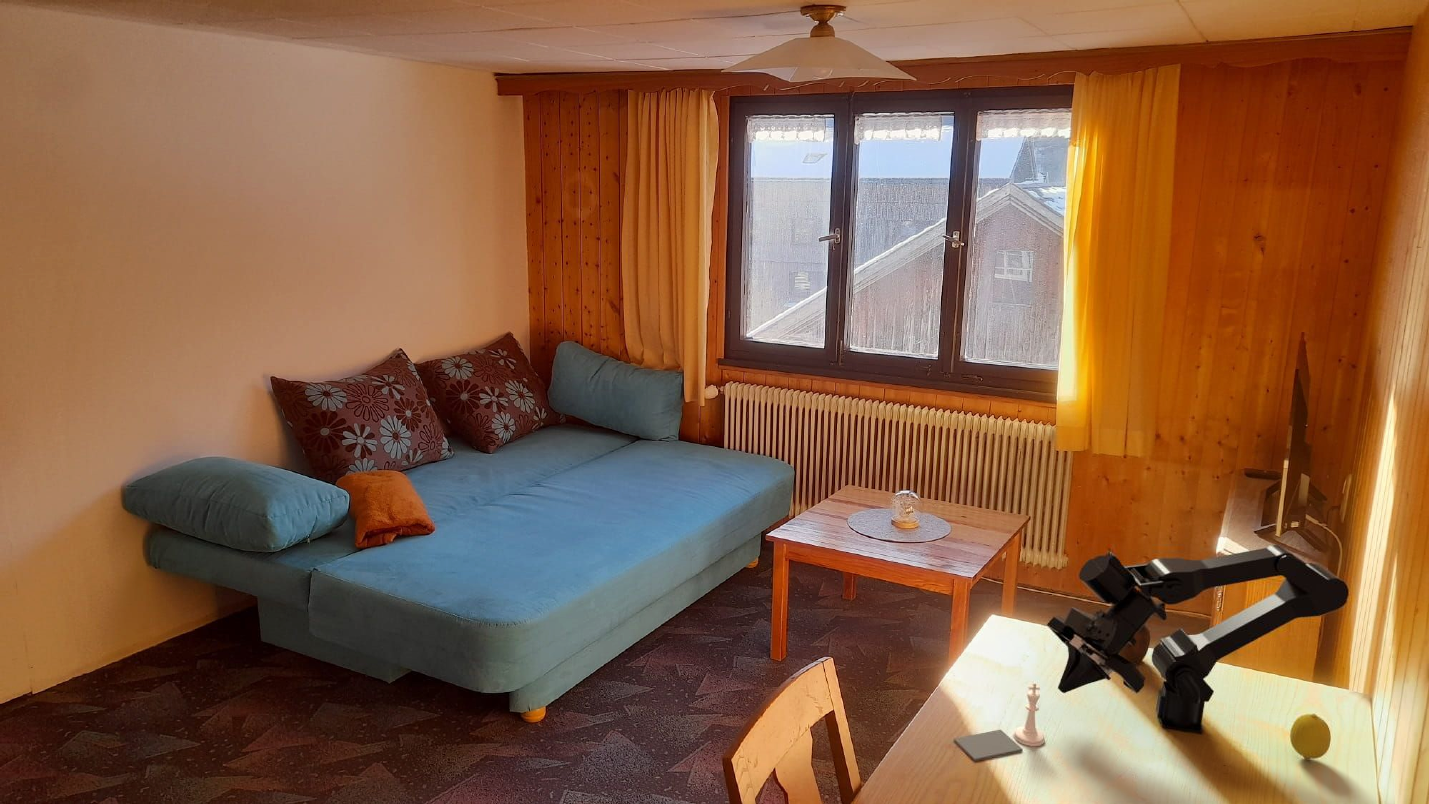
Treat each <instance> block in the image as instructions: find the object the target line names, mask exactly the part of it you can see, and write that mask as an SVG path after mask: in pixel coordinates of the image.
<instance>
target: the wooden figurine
mask: <svg viewBox="0 0 1429 804" xmlns="http://www.w3.org/2000/svg"><path fill="white" fill-rule="evenodd" d="M1137 590H1138V591H1140V589H1137ZM1146 623H1147V622H1146ZM1146 623H1145V624H1144V626H1143V627H1142V628H1141V629H1140V630H1139V631H1138V632H1137V633H1136V635H1135V636H1134V638H1135V639H1136V641H1137V642H1136V643H1135V644H1134V645H1131V644H1130V643H1128V644H1127V645H1126V646H1125V647H1124V648H1123V649H1122V650H1121V652H1120V653H1119V655H1120V656H1122V657H1123V658H1125V659H1126V660H1128V661H1129V662H1131V663H1132V664H1133V665H1134V664H1140V663H1141V662H1143V660H1144V659H1145V658H1146V656H1147V653H1148V651H1149V648H1150V642H1151V631H1150V629H1149V628H1148V626H1147V625H1146Z"/></svg>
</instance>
